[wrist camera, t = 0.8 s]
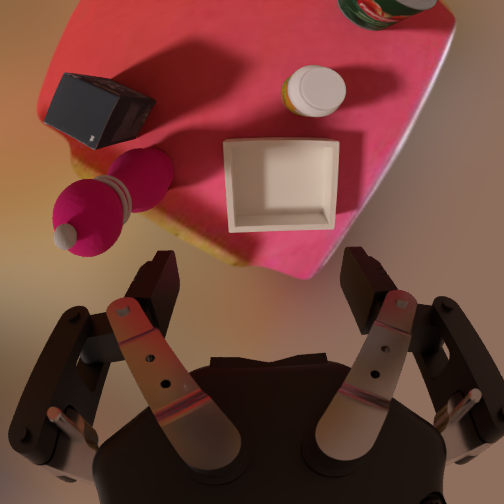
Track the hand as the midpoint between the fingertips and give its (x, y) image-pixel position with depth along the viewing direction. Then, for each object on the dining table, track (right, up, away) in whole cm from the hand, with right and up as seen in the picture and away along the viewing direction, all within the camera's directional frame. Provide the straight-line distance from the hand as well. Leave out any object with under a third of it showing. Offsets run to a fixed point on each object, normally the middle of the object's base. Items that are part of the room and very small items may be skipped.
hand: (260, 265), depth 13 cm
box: (-16, +19, +15) cm, 29 cm away
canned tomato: (+14, +32, +9) cm, 36 cm away
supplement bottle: (+6, +19, +15) cm, 25 cm away
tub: (+3, +10, +20) cm, 23 cm away
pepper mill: (-13, +11, +20) cm, 26 cm away
